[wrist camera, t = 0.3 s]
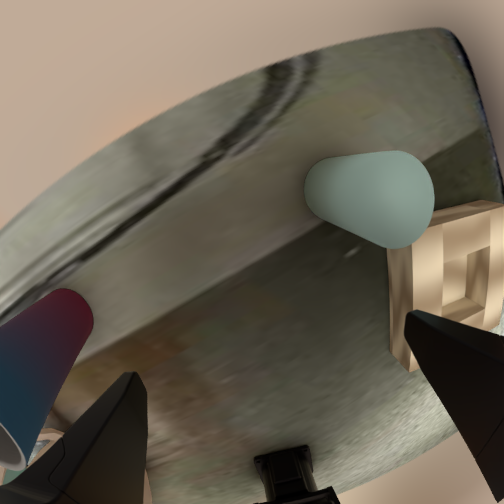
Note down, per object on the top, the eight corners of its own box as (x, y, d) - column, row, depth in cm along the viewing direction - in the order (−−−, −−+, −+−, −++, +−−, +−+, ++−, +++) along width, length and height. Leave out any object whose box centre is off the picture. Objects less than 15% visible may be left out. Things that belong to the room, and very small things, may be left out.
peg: (367, 215, 23) (437, 237, 15) (310, 228, 23) (362, 259, 14) (357, 153, 22) (427, 146, 13) (297, 163, 22) (347, 156, 13)
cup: (62, 262, 21) (-61, 351, 7) (117, 320, 23) (42, 456, 9) (28, 309, 22) (-69, 401, 7) (78, 360, 24) (10, 479, 9)
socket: (477, 310, 28) (498, 324, 24) (389, 351, 27) (409, 372, 23) (480, 199, 24) (507, 205, 20) (384, 223, 24) (411, 232, 20)
